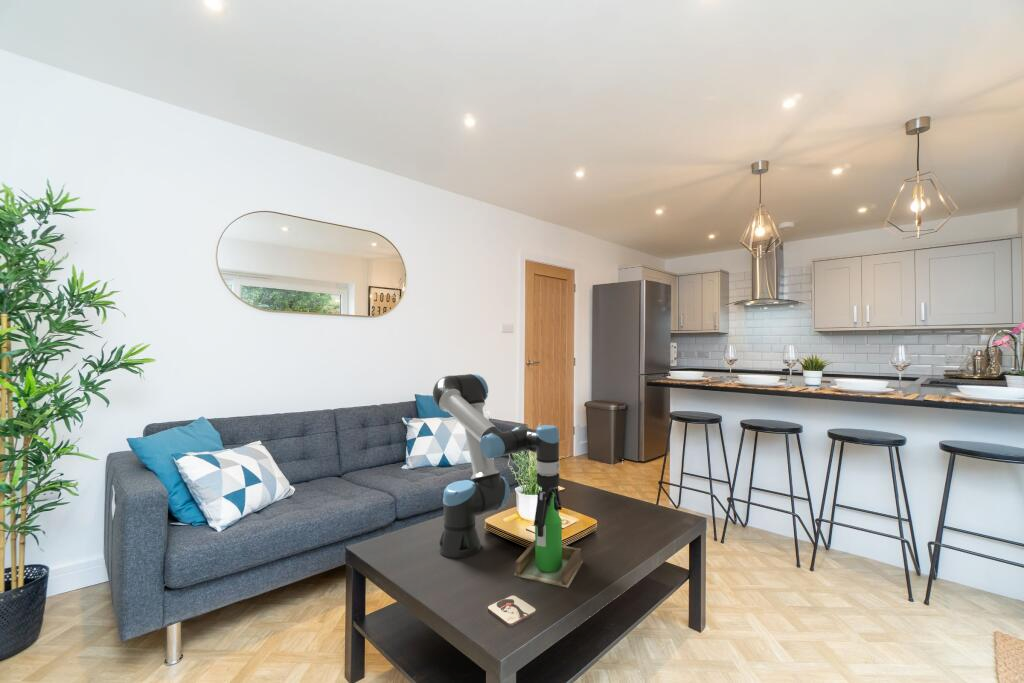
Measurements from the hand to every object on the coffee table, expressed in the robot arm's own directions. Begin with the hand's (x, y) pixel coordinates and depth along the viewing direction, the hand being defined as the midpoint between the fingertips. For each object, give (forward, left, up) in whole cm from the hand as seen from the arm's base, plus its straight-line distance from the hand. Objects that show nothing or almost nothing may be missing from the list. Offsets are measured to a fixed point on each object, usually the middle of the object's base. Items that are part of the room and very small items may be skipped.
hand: (548, 537), depth 146 cm
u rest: (0, 0, -11) cm, 11 cm away
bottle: (0, 0, -10) cm, 10 cm away
